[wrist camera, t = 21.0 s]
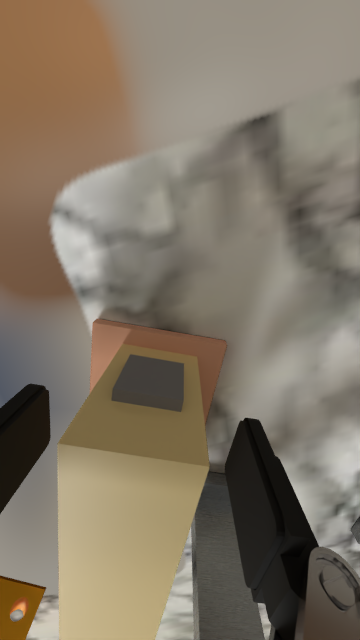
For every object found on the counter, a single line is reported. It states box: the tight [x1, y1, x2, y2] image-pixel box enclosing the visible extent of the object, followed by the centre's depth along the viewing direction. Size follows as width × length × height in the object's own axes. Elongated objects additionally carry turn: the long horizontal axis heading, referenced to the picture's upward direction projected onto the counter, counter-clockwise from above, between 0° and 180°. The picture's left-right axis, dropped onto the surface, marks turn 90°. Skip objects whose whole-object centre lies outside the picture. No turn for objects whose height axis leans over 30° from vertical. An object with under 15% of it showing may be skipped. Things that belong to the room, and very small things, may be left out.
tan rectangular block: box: [58, 344, 210, 640], centre depth 10 cm, size 4×12×6 cm, turn 170°
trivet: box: [90, 319, 227, 424], centre depth 13 cm, size 7×14×1 cm, turn 170°
